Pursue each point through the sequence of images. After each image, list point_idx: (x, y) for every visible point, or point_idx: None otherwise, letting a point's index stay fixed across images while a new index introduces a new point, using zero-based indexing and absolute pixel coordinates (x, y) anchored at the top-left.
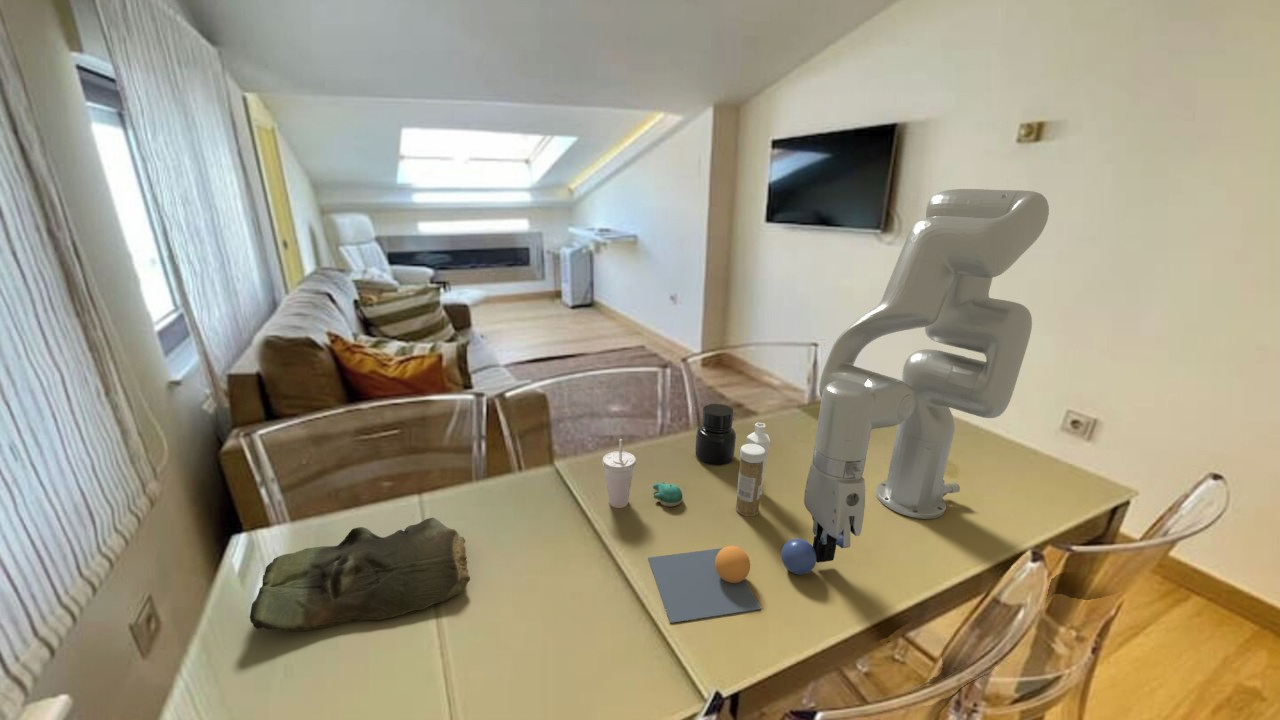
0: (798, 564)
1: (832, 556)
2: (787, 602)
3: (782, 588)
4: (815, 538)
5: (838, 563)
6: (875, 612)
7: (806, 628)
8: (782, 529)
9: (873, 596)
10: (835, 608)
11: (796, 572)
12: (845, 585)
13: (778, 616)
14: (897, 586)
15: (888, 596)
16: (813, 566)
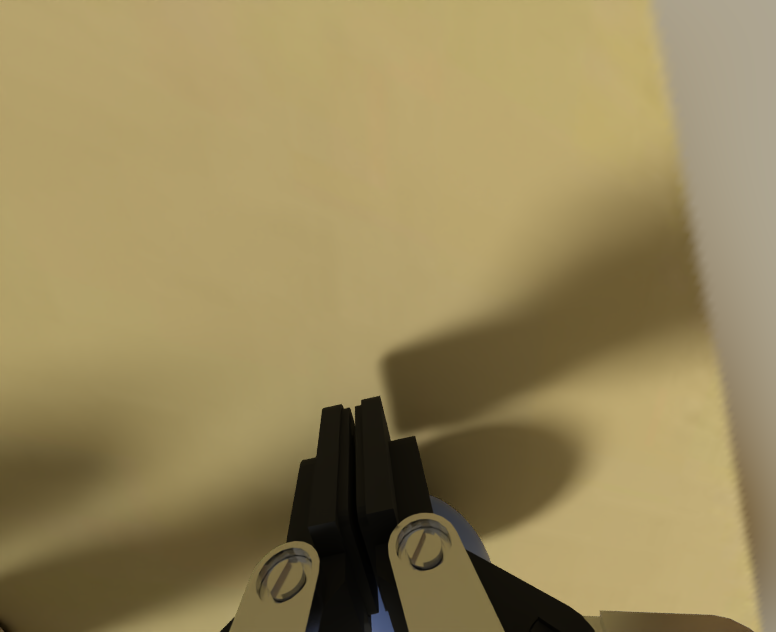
0: None
1: (416, 444)
2: (561, 566)
3: None
4: (368, 629)
5: (338, 322)
6: (686, 265)
7: (680, 533)
8: (79, 521)
9: (593, 228)
10: (623, 424)
11: None
12: (502, 341)
13: (613, 595)
14: (545, 25)
15: (609, 139)
16: (475, 536)
